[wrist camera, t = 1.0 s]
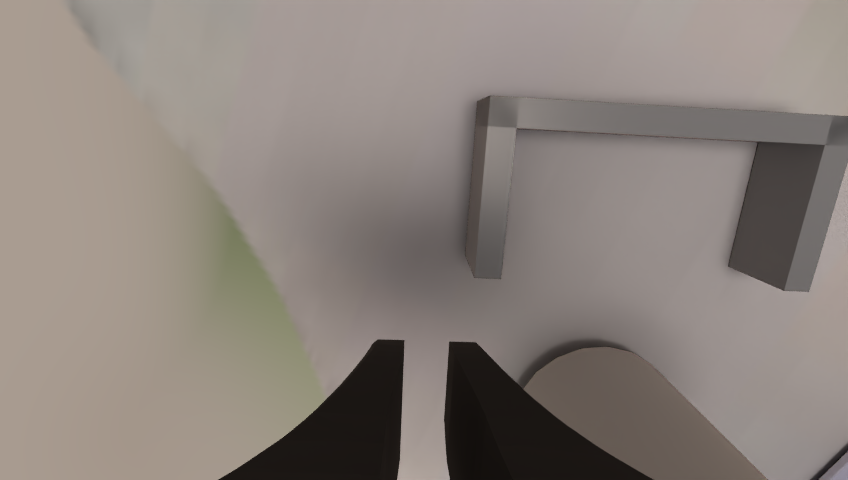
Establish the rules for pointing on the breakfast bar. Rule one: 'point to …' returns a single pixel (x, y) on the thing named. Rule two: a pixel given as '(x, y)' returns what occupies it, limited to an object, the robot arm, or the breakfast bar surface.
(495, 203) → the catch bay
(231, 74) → the breakfast bar surface
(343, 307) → the breakfast bar surface
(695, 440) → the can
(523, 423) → the robot arm
